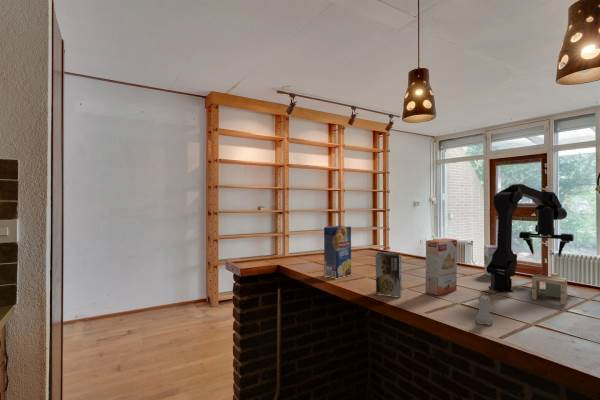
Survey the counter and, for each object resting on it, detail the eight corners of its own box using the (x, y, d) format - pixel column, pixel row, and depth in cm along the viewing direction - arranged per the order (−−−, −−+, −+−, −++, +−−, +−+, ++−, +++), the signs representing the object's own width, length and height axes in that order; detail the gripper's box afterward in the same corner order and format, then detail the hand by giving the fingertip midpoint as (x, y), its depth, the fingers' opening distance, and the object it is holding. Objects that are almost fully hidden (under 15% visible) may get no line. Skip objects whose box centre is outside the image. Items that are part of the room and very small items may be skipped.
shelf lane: (565, 304, 112) (564, 281, 112) (532, 299, 118) (532, 277, 118) (567, 298, 118) (566, 277, 118) (535, 293, 125) (535, 273, 125)
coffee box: (402, 293, 126) (401, 252, 126) (399, 298, 120) (399, 255, 120) (378, 291, 129) (378, 251, 130) (375, 295, 124) (375, 253, 124)
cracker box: (439, 296, 122) (438, 241, 122) (424, 293, 127) (424, 240, 127) (458, 290, 130) (457, 239, 130) (443, 287, 135) (443, 237, 135)
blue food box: (336, 279, 149) (336, 228, 149) (324, 277, 154) (323, 227, 154) (351, 275, 157) (351, 226, 158) (338, 273, 163) (338, 225, 163)
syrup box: (501, 277, 152) (501, 246, 152) (488, 276, 153) (487, 246, 153) (496, 274, 157) (496, 245, 158) (483, 274, 159) (483, 244, 159)
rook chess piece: (472, 320, 97) (472, 294, 97) (486, 319, 98) (486, 293, 98) (482, 326, 93) (481, 298, 93) (496, 325, 93) (496, 298, 93)
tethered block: (562, 298, 119) (562, 281, 119) (545, 295, 123) (545, 279, 123) (562, 288, 132) (562, 274, 132) (547, 286, 135) (547, 272, 135)
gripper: (574, 220, 141) (574, 255, 141) (523, 218, 154) (523, 251, 154) (572, 221, 133) (573, 259, 133) (518, 219, 146) (519, 254, 146)
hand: (545, 255), depth 141 cm, fingers open, 9 cm apart
